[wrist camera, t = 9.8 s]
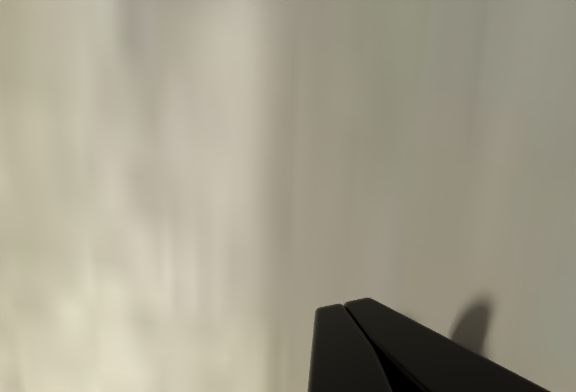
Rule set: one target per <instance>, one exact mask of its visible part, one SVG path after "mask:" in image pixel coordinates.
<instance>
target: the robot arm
mask: <svg viewBox="0 0 576 392" xmlns="http://www.w3.org/2000/svg"><path fill="white" fill-rule="evenodd" d="M308 392H550V391H548V390H546V389H544V388H543V387H541V386H539V385H537V384H535V383H533V382H531V381H529V380H527V379H525V378H523V377H521V376H519V375H518V374H516V373H514V372H512V371H510V370H508V369H506V368H504V367H502V366H500V365H498V364H496V363H495V362H493V361H491V360H489V359H487V358H485V357H483V356H481V355H479V354H477V353H475V352H473V351H471V350H470V349H468V348H466V347H464V346H462V345H460V344H458V343H456V342H454V341H452V340H450V339H448V338H446V337H445V336H443V335H441V334H439V333H437V332H435V331H433V330H431V329H429V328H427V327H425V326H423V325H421V324H420V323H418V322H416V321H414V320H412V319H410V318H408V317H406V316H404V315H402V314H400V313H398V312H396V311H395V310H393V309H391V308H389V307H387V306H385V305H383V304H381V303H379V302H377V301H375V300H373V299H371V298H363V299H358V300H353V301H349V302H346V303H345V304H344V305H342V304H334V305H330V306H325V307H320V308H318V309H316V311H315V320H314V330H313V340H312V351H311V361H310V372H309V382H308Z"/></svg>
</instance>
